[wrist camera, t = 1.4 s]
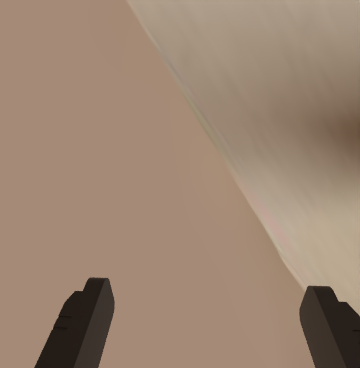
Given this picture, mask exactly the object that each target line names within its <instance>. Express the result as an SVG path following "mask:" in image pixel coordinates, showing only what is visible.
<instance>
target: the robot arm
mask: <svg viewBox="0 0 360 368" xmlns="http://www.w3.org/2000/svg"><path fill="white" fill-rule="evenodd" d="M113 313H114V297H113V293H112V289H111V285H110V281H109V279H108V278H89V279H88V280H87V282H86V285H85V287H84V289H83V291H75V292H74V293H73V294H72V295H71V296H70V297H69V299H67V301H66V302H65V303H64V305H63V308H62V309H61V312H60V314H59V317H58V319H57V320H56V322H55V324H54V327H53V330H52V331H51V333H50V335H49V338H48V340H47V342H46V344H45V346H44V348H43V350H42V352H41V355H40V357H39V359H38V361H37V363H36V365H35V367H34V368H98V367H99V363H100V360H101V356H102V352H103V349H104V345H105V342H106V338H107V335H108V331H109V328H110V324H111V321H112V317H113ZM300 322H301V325H302V328H303V332H304V335H305V338H306V340H307V344H308V347H309V350H310V353H311V356H312V358H313V362H314V365H315V368H360V316H359V315H358V314H357V313H356V312H355V311H354V310H353V309H352V308H351V306H350V305H349V304H348V303H347V302H339V301H338V299H337V297H336V295H335V293H334V291H333V290H332V288H331V287H329V286H308V287H307V290H306V292H305V295H304V298H303V301H302V303H301V307H300Z"/></svg>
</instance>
